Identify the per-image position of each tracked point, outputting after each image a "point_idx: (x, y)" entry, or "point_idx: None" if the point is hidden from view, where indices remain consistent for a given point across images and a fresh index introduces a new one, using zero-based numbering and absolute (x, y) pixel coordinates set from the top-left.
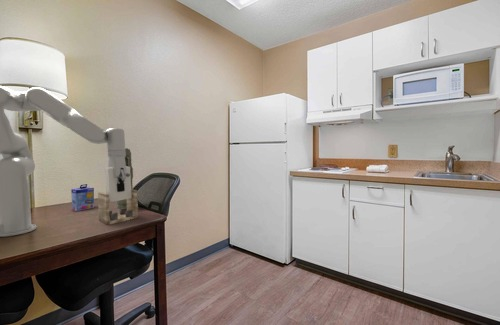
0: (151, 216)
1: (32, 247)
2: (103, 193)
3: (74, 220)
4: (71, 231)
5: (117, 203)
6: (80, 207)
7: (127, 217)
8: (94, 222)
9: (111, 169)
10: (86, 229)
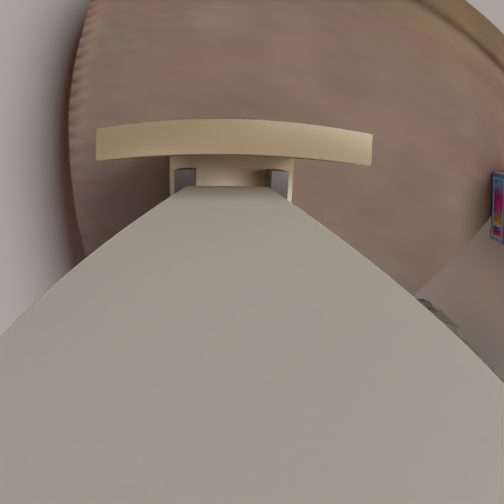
0: None
1: None
2: (216, 136)
3: (389, 86)
4: (209, 15)
5: (434, 308)
6: (500, 188)
7: None
8: (277, 117)
9: None
10: (182, 58)
